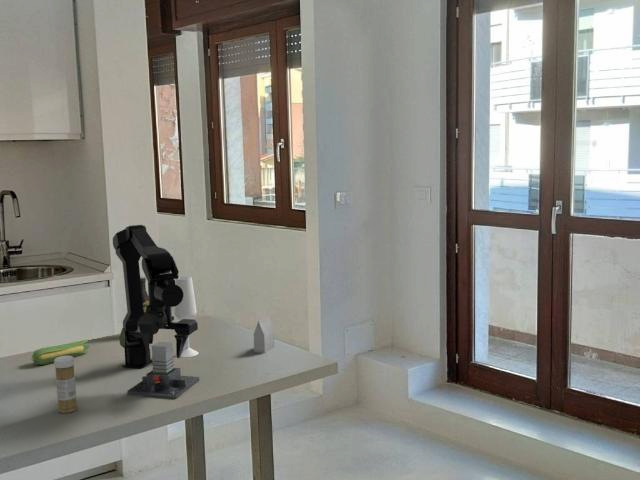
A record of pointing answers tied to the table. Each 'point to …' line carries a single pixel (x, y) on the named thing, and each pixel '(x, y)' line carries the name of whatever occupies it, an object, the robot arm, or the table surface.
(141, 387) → the jack base
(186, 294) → the champagne flute
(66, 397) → the sprinkles bottle
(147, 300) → the sauce bottle
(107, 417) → the table surface
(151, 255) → the robot arm
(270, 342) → the white gable top carton
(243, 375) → the table surface
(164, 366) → the block
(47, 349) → the edible corn
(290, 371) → the table surface
